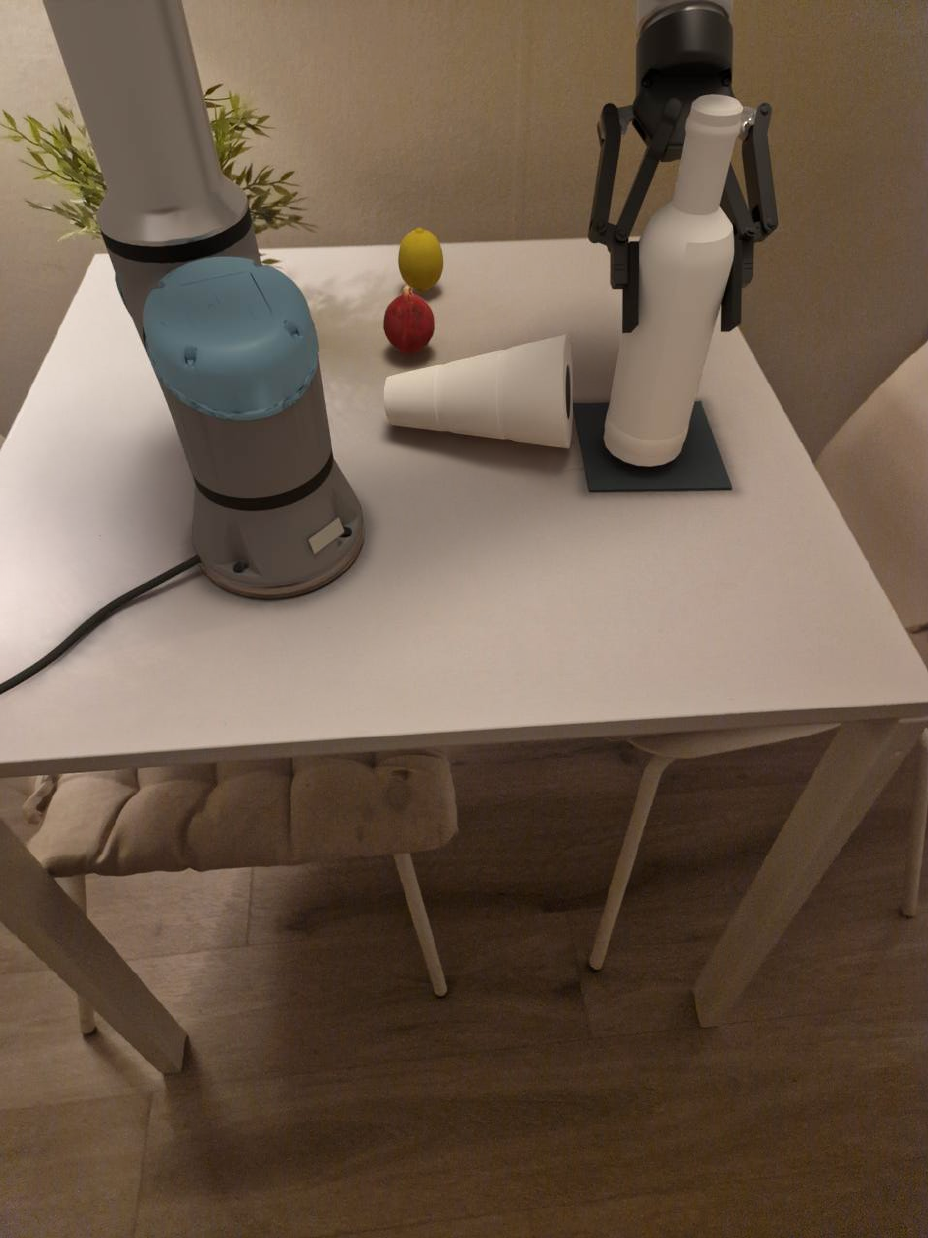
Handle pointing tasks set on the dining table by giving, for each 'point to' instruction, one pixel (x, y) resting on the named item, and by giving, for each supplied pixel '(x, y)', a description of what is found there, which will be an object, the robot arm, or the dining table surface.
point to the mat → (686, 472)
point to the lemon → (420, 259)
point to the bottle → (676, 295)
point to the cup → (491, 395)
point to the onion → (409, 322)
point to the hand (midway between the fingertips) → (680, 327)
